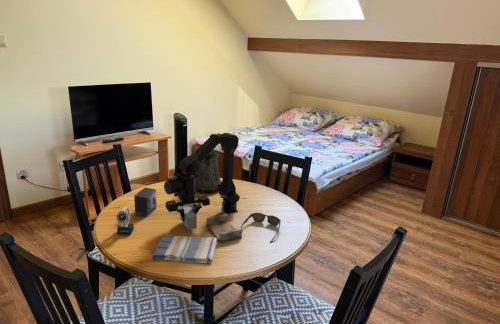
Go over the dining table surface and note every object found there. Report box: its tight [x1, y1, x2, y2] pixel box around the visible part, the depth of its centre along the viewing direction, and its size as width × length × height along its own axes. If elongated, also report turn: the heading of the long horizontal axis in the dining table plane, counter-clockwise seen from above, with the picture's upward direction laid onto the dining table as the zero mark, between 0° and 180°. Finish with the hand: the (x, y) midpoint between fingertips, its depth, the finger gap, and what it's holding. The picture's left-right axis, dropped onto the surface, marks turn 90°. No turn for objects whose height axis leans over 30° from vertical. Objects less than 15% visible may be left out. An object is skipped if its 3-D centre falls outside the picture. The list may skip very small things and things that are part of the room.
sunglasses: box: [240, 212, 281, 244], centre depth 155 cm, size 16×17×5 cm
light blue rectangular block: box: [179, 205, 198, 231], centre depth 154 cm, size 4×11×6 cm, turn 28°
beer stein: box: [195, 149, 222, 195], centre depth 194 cm, size 16×19×25 cm
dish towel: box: [151, 234, 218, 264], centre depth 138 cm, size 17×24×3 cm
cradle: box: [206, 213, 243, 244], centre depth 153 cm, size 10×16×4 cm, turn 28°
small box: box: [133, 187, 157, 218], centre depth 166 cm, size 11×6×10 cm, turn 168°
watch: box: [115, 207, 135, 236], centre depth 147 cm, size 6×8×11 cm
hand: (188, 220), depth 155 cm, fingers closed on light blue rectangular block, 4 cm apart
